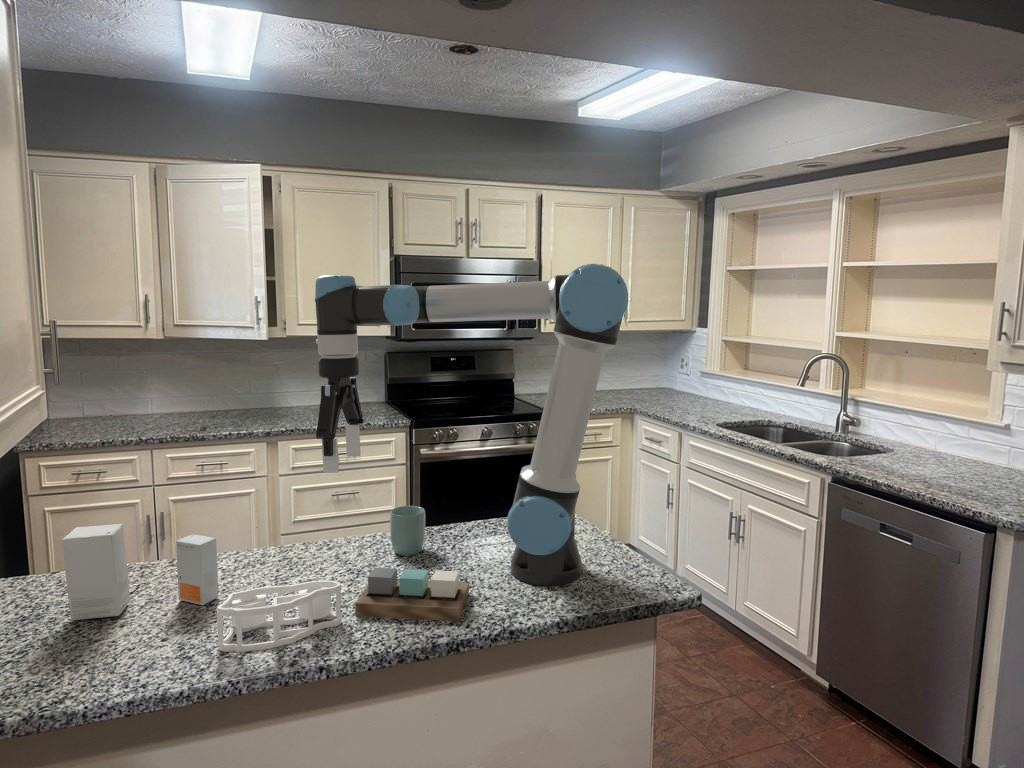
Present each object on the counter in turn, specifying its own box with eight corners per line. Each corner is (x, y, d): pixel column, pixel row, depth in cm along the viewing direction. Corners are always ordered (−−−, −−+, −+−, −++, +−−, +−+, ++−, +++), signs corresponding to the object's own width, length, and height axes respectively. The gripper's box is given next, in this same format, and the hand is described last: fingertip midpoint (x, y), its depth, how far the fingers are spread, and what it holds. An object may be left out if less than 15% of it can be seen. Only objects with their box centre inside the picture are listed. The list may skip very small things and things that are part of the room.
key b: (427, 586, 129) (427, 570, 128) (422, 595, 124) (422, 579, 124) (405, 584, 129) (405, 568, 129) (399, 594, 125) (399, 578, 124)
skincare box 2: (177, 601, 128) (174, 540, 126) (195, 592, 132) (192, 533, 130) (202, 606, 126) (199, 545, 124) (219, 597, 130) (217, 537, 128)
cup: (418, 560, 149) (418, 517, 148) (385, 557, 150) (385, 514, 149) (429, 548, 156) (429, 506, 155) (398, 545, 158) (397, 504, 157)
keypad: (468, 595, 132) (468, 583, 131) (459, 621, 121) (459, 608, 120) (373, 590, 133) (373, 578, 133) (355, 616, 122) (355, 603, 122)
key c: (397, 584, 129) (397, 568, 129) (391, 594, 125) (391, 577, 124) (375, 583, 129) (374, 567, 129) (368, 593, 125) (367, 576, 125)
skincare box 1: (131, 601, 127) (126, 522, 125) (118, 618, 121) (113, 534, 119) (82, 605, 125) (76, 525, 123) (66, 622, 119) (60, 537, 117)
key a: (458, 587, 128) (458, 571, 128) (454, 597, 124) (454, 581, 123) (436, 586, 128) (436, 570, 128) (431, 596, 124) (431, 579, 124)
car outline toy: (339, 610, 125) (338, 572, 124) (344, 638, 115) (343, 597, 114) (223, 625, 119) (221, 586, 118) (217, 657, 108) (215, 613, 107)
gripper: (340, 351, 142) (344, 449, 145) (293, 362, 117) (299, 480, 120) (375, 351, 141) (378, 449, 144) (335, 361, 117) (340, 480, 119)
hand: (342, 463), depth 132 cm, fingers open, 13 cm apart
